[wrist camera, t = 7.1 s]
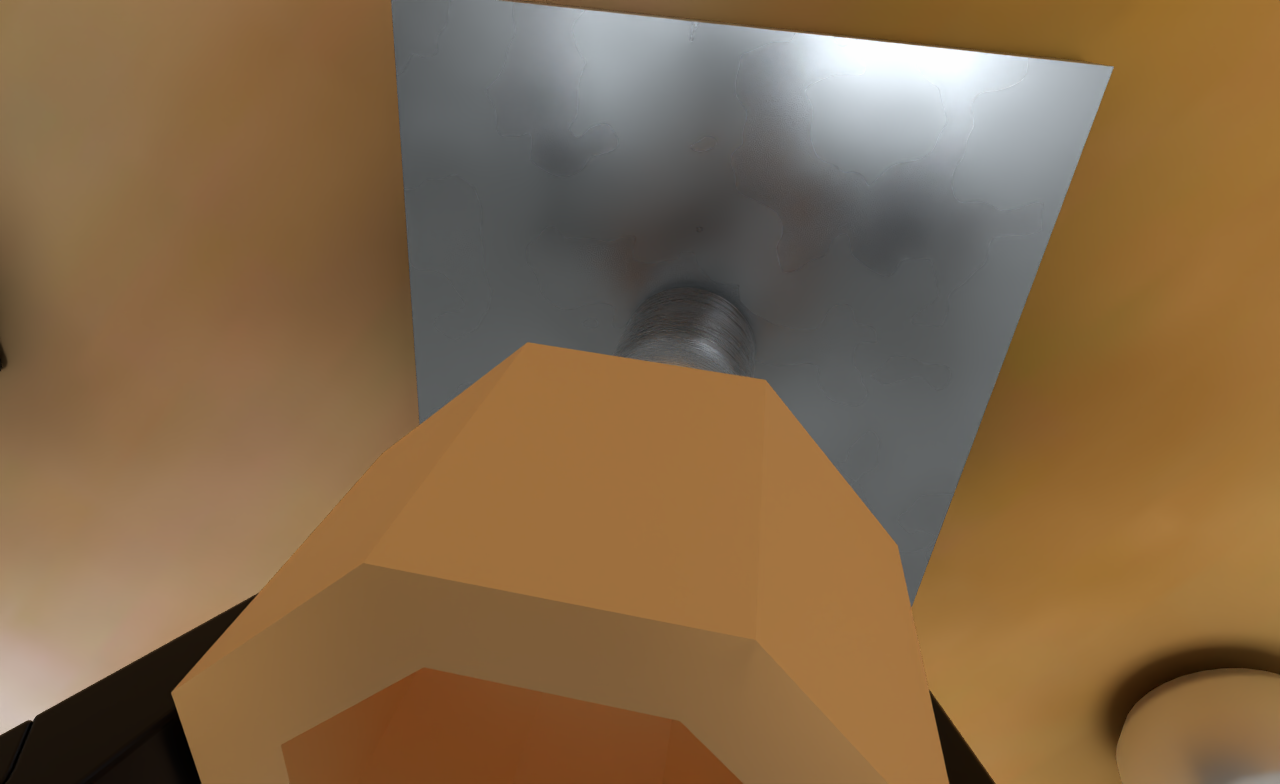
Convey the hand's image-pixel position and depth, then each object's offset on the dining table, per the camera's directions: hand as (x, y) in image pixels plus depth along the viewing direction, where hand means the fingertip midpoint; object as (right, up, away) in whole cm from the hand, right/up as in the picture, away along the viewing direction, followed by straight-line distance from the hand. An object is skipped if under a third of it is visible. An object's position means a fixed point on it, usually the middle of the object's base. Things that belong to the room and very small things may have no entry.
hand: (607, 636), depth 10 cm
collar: (0, +1, +1) cm, 1 cm away
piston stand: (+2, +5, +9) cm, 11 cm away
